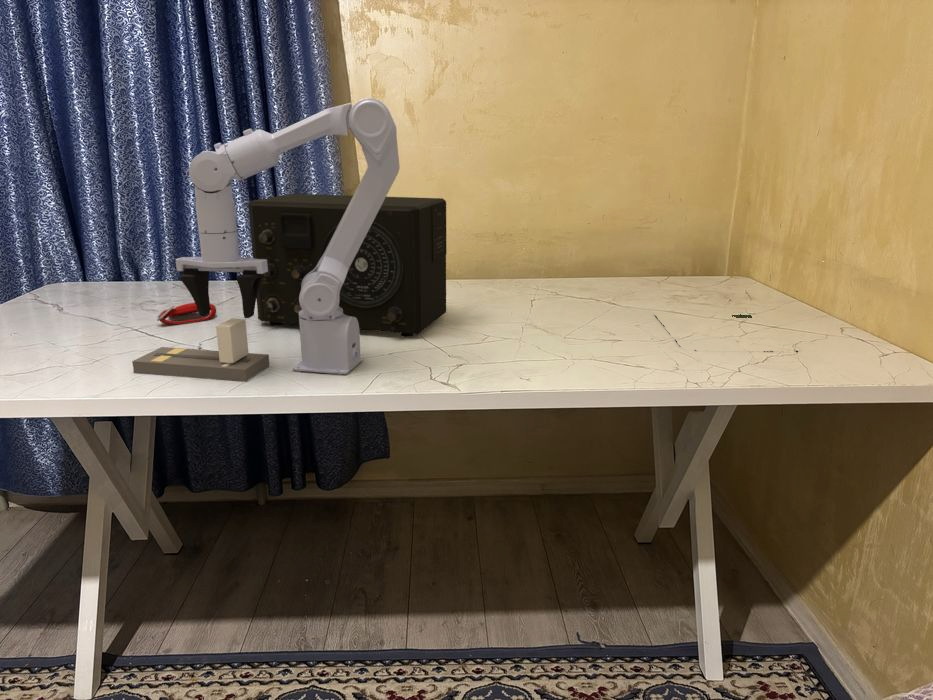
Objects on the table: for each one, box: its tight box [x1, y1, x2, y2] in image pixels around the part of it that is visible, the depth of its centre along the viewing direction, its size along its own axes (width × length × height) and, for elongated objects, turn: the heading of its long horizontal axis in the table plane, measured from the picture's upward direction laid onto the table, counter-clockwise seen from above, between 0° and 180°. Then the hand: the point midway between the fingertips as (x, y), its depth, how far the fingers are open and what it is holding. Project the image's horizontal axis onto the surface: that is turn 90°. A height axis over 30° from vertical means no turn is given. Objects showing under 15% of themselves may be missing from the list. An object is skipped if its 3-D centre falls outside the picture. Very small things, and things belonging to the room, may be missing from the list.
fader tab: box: [215, 317, 250, 363], centre depth 115 cm, size 2×5×6 cm, turn 168°
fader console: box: [131, 346, 270, 382], centre depth 118 cm, size 20×8×2 cm, turn 78°
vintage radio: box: [247, 193, 447, 338], centre depth 143 cm, size 38×20×25 cm, turn 74°
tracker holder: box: [156, 302, 217, 326], centre depth 148 cm, size 12×4×10 cm
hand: (227, 315), depth 115 cm, fingers open, 7 cm apart
